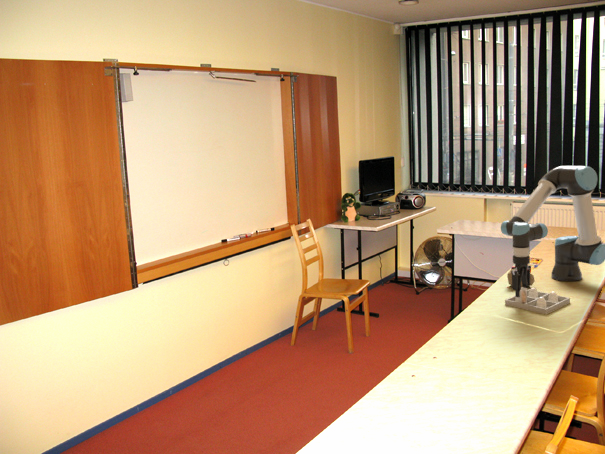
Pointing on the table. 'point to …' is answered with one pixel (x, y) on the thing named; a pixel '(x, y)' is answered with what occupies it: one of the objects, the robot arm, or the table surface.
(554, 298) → the white egg
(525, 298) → the brown egg
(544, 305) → the white egg
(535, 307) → the carton
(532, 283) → the low-poly potato
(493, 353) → the table surface
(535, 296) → the white egg
